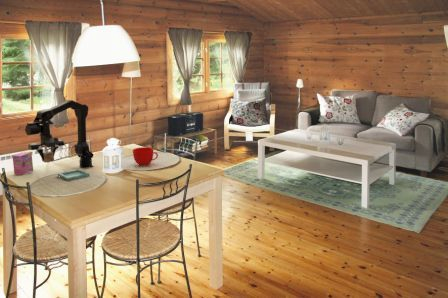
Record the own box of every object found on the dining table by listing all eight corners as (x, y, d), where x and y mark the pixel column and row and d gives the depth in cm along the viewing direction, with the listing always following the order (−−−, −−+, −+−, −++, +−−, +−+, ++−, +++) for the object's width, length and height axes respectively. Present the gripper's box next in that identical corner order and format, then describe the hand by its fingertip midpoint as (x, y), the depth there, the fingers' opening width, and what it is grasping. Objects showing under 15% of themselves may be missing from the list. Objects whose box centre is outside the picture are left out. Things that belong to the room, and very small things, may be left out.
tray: (79, 172, 256) (79, 169, 255) (89, 176, 246) (89, 173, 246) (58, 176, 247) (57, 173, 247) (67, 181, 238) (67, 177, 237)
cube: (50, 159, 249) (50, 151, 247) (54, 161, 245) (53, 152, 244) (42, 161, 245) (41, 152, 244) (45, 162, 242) (44, 154, 241)
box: (22, 175, 250) (20, 155, 247) (14, 174, 251) (11, 155, 248) (33, 170, 260) (31, 151, 257) (25, 170, 261) (23, 151, 258)
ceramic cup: (152, 168, 262) (152, 153, 260) (129, 166, 268) (128, 150, 266) (163, 163, 274) (162, 148, 272) (140, 161, 280) (139, 146, 278)
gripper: (33, 136, 229) (36, 164, 233) (67, 132, 242) (69, 159, 245) (26, 134, 237) (29, 161, 241) (59, 130, 250) (61, 155, 253)
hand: (48, 159), depth 245 cm, fingers closed on cube, 5 cm apart
